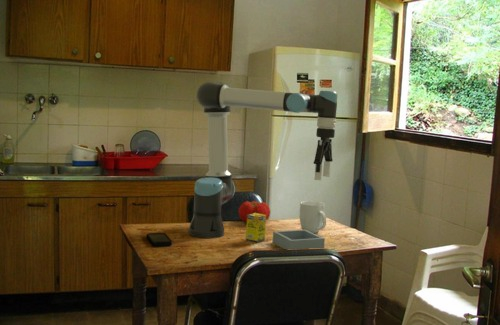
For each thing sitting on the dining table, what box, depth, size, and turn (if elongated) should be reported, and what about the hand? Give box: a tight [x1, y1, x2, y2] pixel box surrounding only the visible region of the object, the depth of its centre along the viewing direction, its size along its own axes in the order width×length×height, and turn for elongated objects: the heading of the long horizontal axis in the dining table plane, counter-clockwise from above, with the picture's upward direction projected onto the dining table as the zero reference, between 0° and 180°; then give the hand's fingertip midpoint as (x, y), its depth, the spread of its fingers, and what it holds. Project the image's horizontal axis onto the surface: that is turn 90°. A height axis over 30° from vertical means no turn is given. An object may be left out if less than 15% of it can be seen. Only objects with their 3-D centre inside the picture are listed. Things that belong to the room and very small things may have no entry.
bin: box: [272, 229, 326, 250], centre depth 223 cm, size 15×15×5 cm
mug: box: [299, 200, 327, 234], centre depth 247 cm, size 15×11×13 cm
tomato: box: [238, 200, 271, 223], centre depth 262 cm, size 14×16×10 cm
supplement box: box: [245, 213, 267, 244], centre depth 228 cm, size 6×6×11 cm
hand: (322, 178), depth 233 cm, fingers open, 13 cm apart
